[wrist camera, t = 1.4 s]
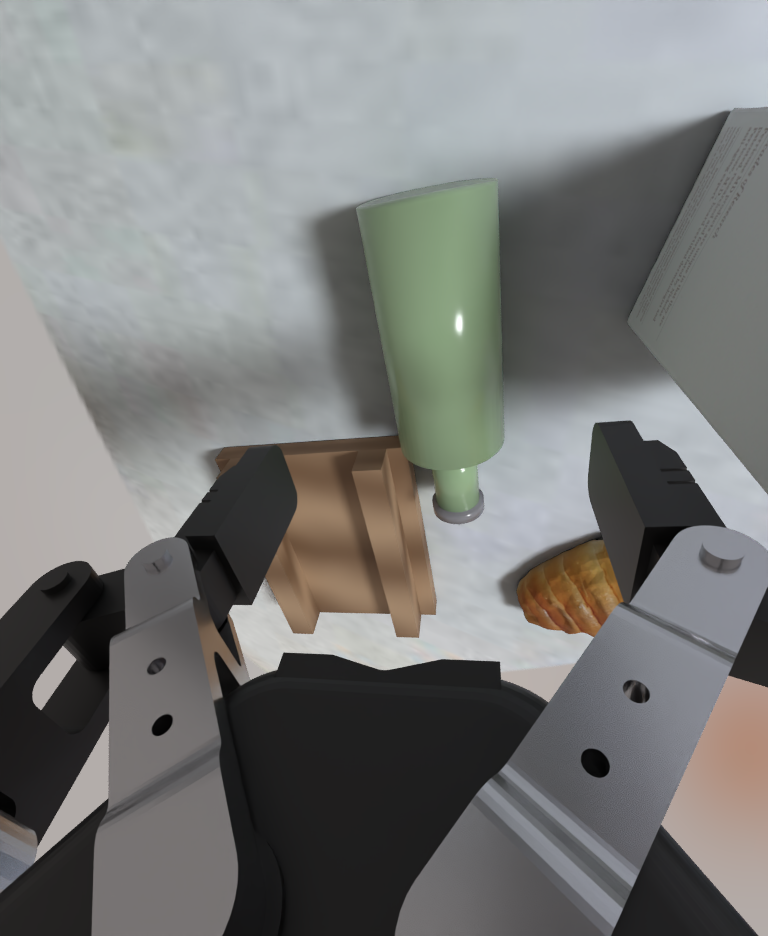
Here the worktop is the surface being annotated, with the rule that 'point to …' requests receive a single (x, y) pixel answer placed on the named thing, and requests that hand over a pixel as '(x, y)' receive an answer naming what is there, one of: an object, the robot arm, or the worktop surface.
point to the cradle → (350, 534)
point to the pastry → (571, 590)
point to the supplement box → (719, 292)
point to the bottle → (441, 330)
